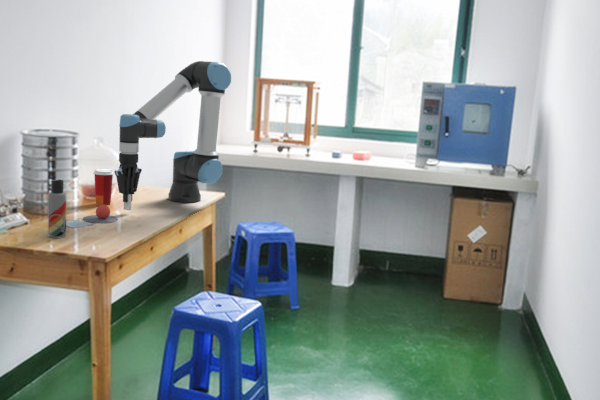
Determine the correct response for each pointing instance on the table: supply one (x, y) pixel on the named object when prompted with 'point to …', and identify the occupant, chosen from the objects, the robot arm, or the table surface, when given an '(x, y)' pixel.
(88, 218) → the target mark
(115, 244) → the table surface
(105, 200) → the coffee cup
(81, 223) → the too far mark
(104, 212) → the ball
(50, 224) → the lotion bottle
